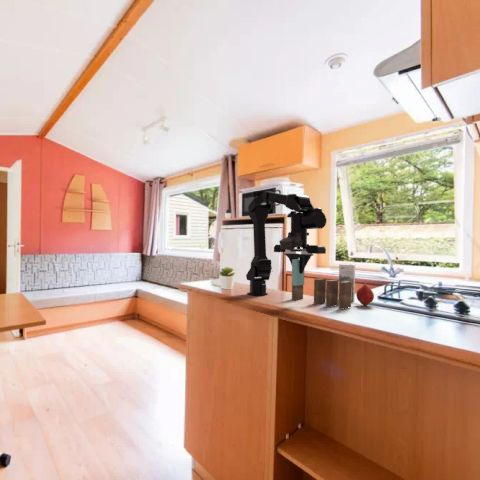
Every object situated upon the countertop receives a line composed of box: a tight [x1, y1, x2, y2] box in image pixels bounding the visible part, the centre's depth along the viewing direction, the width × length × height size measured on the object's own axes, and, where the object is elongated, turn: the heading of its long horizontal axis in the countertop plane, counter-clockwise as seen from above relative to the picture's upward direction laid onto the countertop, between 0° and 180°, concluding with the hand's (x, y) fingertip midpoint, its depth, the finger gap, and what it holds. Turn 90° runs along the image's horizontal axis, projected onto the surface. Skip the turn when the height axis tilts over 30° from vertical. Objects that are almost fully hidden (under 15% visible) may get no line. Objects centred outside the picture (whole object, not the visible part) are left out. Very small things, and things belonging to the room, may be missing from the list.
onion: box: [356, 283, 375, 307], centre depth 108 cm, size 6×6×8 cm
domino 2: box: [291, 284, 304, 301], centre depth 119 cm, size 2×5×9 cm, turn 134°
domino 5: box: [338, 281, 352, 310], centre depth 104 cm, size 2×5×9 cm, turn 133°
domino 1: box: [291, 259, 305, 286], centre depth 107 cm, size 2×5×9 cm, turn 134°
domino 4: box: [325, 279, 339, 307], centre depth 108 cm, size 2×5×9 cm, turn 134°
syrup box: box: [338, 262, 356, 302], centre depth 120 cm, size 6×6×14 cm
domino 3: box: [313, 278, 327, 305], centre depth 111 cm, size 2×5×9 cm, turn 134°
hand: (298, 273), depth 107 cm, fingers closed on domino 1, 2 cm apart
